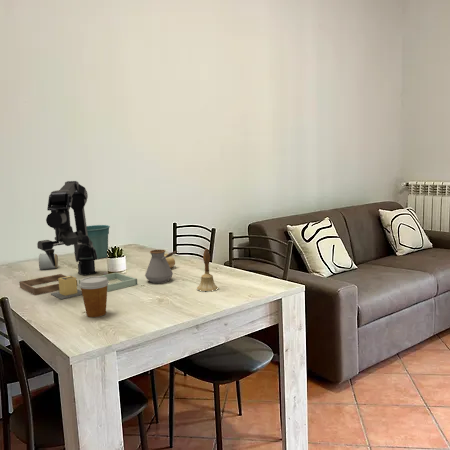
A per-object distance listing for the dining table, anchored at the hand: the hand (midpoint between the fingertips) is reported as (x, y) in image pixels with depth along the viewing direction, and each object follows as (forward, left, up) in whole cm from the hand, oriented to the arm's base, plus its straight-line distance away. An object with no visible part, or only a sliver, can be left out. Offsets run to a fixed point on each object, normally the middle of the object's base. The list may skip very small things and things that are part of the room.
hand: (65, 264), depth 189 cm
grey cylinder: (-13, -51, -12) cm, 54 cm away
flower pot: (-41, -57, -12) cm, 71 cm away
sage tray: (-17, +1, -12) cm, 20 cm away
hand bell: (-41, +36, -12) cm, 56 cm away
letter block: (0, +1, -11) cm, 11 cm away
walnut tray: (+1, -16, -12) cm, 20 cm away
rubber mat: (0, +1, -12) cm, 12 cm away
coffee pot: (-35, +16, -12) cm, 40 cm away
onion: (-51, -6, -12) cm, 52 cm away
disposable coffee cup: (+4, +32, -12) cm, 34 cm away
